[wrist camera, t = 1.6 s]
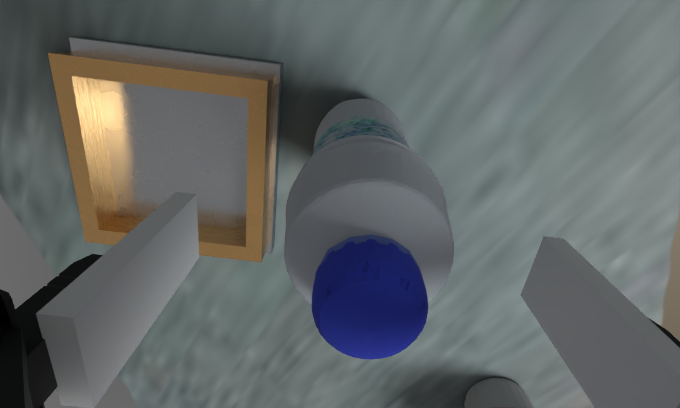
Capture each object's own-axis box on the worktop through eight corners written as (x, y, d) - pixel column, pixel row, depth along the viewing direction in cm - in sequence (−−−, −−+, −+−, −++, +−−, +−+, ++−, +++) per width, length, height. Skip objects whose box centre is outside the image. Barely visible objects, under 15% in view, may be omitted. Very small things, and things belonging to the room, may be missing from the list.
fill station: (81, 37, 25) (39, 37, 22) (283, 63, 26) (273, 67, 22) (111, 227, 32) (83, 250, 28) (274, 246, 32) (264, 271, 29)
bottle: (339, 191, 30) (320, 439, 12) (298, 116, 27) (194, 281, 9) (417, 156, 28) (535, 375, 10) (382, 73, 26) (453, 168, 8)
